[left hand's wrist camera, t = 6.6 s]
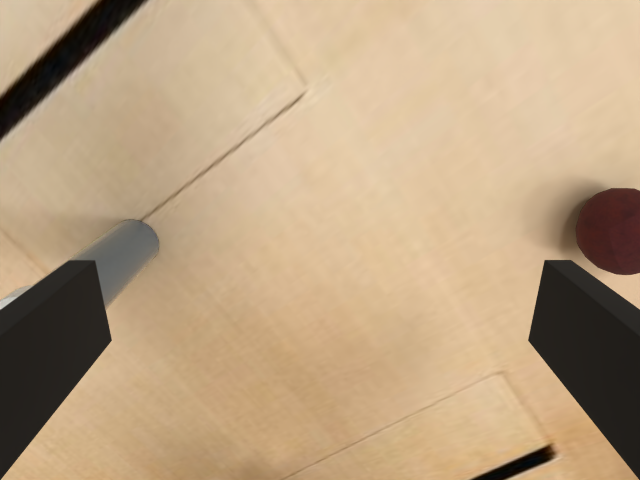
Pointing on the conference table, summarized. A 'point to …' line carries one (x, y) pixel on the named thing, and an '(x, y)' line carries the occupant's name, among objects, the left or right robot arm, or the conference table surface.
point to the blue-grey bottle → (119, 256)
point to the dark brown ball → (611, 230)
